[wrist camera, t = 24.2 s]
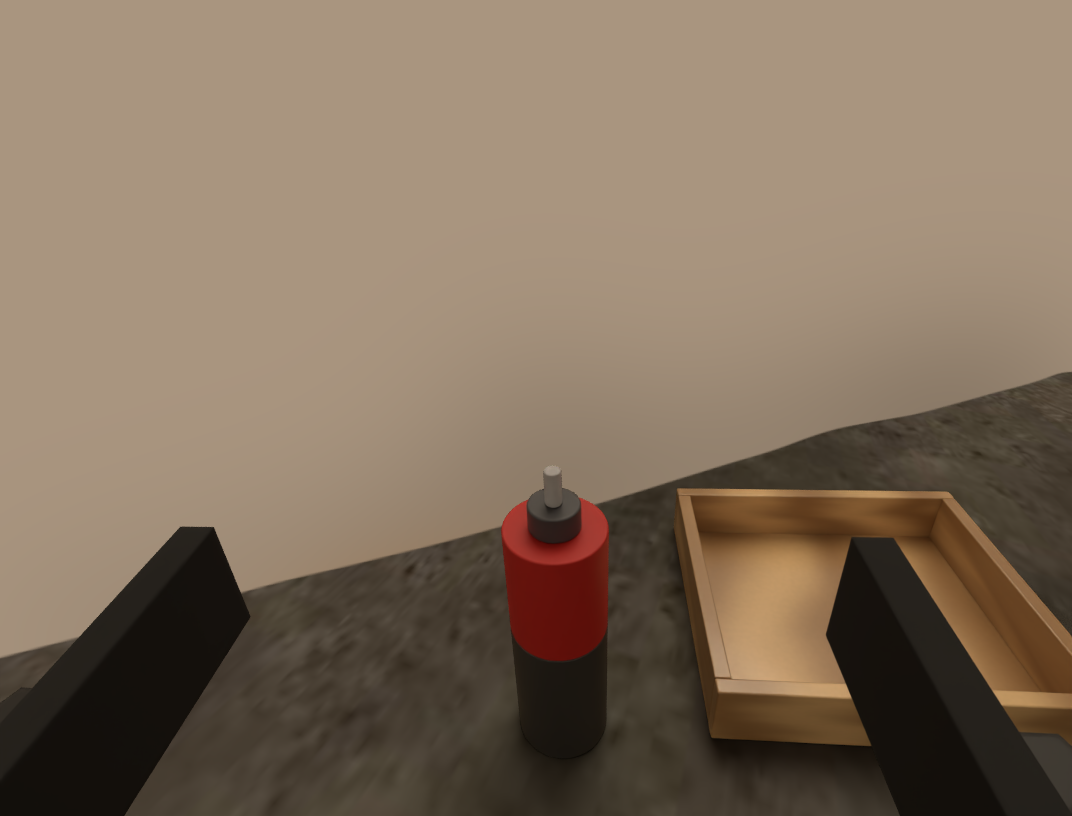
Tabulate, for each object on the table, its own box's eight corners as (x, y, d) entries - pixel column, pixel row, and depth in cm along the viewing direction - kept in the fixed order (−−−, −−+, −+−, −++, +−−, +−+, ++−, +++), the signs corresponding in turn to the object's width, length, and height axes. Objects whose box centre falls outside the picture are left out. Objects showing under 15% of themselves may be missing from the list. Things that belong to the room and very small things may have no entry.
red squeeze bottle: (605, 680, 32) (608, 439, 25) (607, 761, 28) (610, 506, 21) (524, 676, 32) (503, 439, 25) (515, 756, 29) (487, 504, 21)
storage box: (934, 532, 41) (948, 491, 39) (1103, 759, 27) (1137, 711, 25) (673, 527, 42) (676, 487, 41) (710, 738, 29) (717, 692, 27)
